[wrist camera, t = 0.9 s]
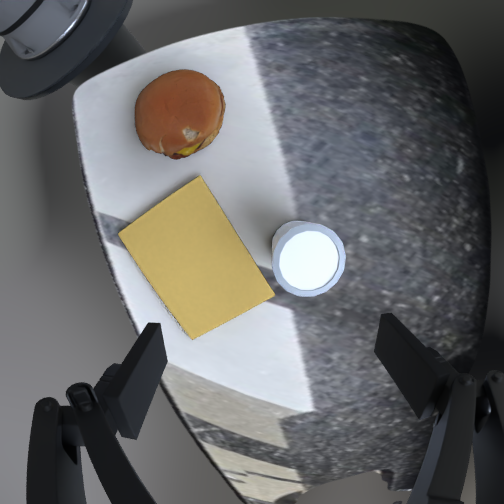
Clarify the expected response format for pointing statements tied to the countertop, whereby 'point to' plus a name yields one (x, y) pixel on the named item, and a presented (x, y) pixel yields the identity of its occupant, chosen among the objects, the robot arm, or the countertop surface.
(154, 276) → the cloth
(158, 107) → the burger
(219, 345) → the countertop surface
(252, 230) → the countertop surface
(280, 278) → the shot glass
